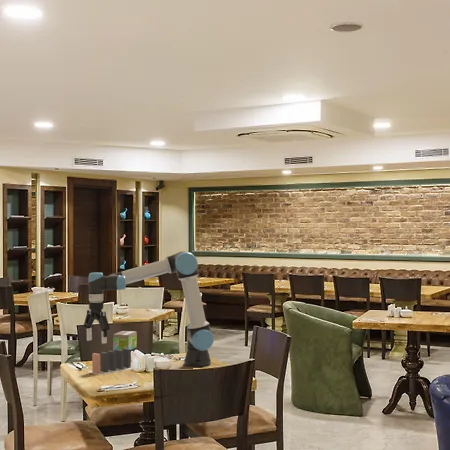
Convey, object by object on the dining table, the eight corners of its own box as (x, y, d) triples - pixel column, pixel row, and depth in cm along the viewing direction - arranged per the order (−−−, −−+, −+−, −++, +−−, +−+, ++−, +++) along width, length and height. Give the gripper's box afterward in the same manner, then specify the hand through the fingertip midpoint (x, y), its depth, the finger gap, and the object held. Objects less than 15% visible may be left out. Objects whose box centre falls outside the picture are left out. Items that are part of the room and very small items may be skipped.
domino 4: (123, 368, 378) (123, 350, 378) (120, 369, 377) (120, 350, 377) (117, 367, 381) (117, 349, 381) (115, 368, 380) (115, 349, 380)
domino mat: (136, 369, 380) (136, 368, 380) (99, 375, 363) (99, 374, 363) (123, 365, 388) (123, 365, 388) (86, 372, 371) (86, 371, 371)
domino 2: (108, 371, 371) (108, 352, 371) (105, 372, 370) (105, 353, 370) (102, 370, 374) (102, 351, 374) (100, 370, 373) (100, 352, 373)
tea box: (128, 360, 406) (128, 334, 406) (112, 359, 408) (112, 334, 408) (137, 355, 420) (137, 330, 420) (121, 354, 422) (121, 330, 422)
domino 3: (115, 370, 374) (115, 351, 374) (113, 370, 373) (113, 352, 373) (110, 368, 378) (110, 350, 378) (107, 369, 377) (107, 350, 377)
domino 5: (130, 367, 381) (130, 349, 381) (128, 367, 380) (128, 349, 380) (125, 366, 385) (125, 348, 385) (122, 366, 384) (122, 348, 384)
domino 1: (100, 373, 367) (100, 354, 367) (97, 373, 366) (97, 354, 366) (94, 371, 371) (94, 353, 371) (92, 372, 369) (92, 353, 369)
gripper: (76, 300, 374) (77, 340, 374) (104, 304, 357) (104, 345, 357) (88, 299, 380) (89, 338, 380) (116, 302, 362) (116, 343, 362)
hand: (96, 341), depth 368 cm, fingers open, 13 cm apart
